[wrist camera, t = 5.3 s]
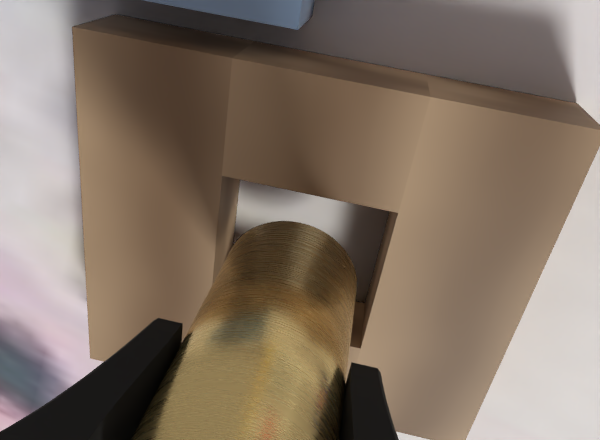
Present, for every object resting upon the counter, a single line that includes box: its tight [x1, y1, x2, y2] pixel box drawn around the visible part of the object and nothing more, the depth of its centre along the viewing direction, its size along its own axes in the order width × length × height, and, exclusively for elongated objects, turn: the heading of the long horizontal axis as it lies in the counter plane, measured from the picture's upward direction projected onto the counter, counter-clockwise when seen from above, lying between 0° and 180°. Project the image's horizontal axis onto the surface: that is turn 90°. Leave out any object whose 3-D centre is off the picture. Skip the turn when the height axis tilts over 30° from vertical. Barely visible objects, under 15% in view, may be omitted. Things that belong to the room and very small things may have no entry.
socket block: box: [72, 14, 600, 440], centre depth 18 cm, size 14×12×2 cm
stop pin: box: [131, 221, 357, 440], centre depth 13 cm, size 4×4×8 cm
